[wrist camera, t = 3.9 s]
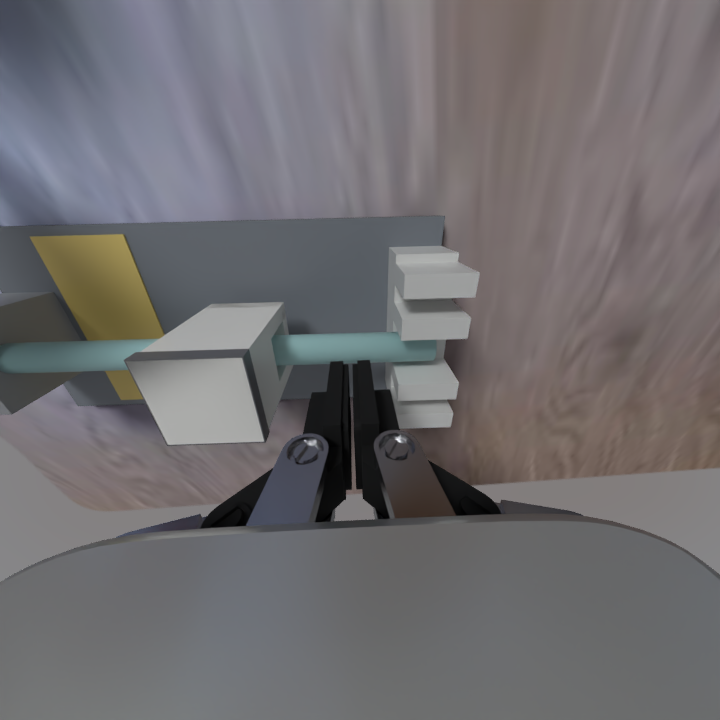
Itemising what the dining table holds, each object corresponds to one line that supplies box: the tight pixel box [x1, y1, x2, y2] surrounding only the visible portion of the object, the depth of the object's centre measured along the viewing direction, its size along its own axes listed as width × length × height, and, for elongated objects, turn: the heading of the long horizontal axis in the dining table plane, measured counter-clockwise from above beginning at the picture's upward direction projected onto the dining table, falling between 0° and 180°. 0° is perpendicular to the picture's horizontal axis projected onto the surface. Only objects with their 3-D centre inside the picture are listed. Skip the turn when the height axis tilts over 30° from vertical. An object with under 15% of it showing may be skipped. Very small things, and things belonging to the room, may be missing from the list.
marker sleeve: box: [124, 302, 293, 446], centre depth 13 cm, size 4×4×6 cm
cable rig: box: [0, 216, 480, 429], centre depth 15 cm, size 26×12×6 cm, turn 91°
